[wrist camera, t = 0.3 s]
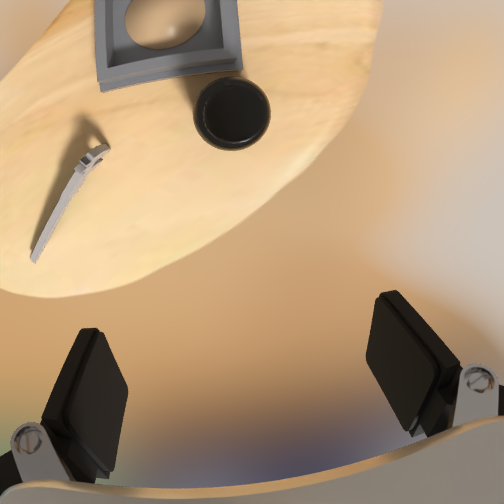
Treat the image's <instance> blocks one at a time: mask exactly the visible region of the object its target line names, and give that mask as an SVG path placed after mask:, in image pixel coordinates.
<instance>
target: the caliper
mask: <svg viewBox="0 0 504 504" xmlns="http://www.w3.org/2000/svg"><path fill="white" fill-rule="evenodd" d="M109 151H110V148H109V147H108V146H107V145H106V144H102V145H99V146H96V147H95V148H93V149H92V150H90V151H89V152H88V153H87V154H86V156H85V157H83V158H82V159H80V160H79V161H80V163H79V164H78V165H77V166H76V167H75V168H74V170H75V172H74V174H73V176H72V177H71V179H70V181H69V182H68V184H67V186H66V188H65V189H64V191H63V193H62V195H61V196H60V200H59V202H58V203H57V205H56V207H55V209H54V211H53V213H52V214H51V216H50V218H49V220H48V222H47V224H46V226H45V228H44V230H43V232H42V234H41V236H40V238H39V240H38V242H37V244H36V246H35V248H34V251H33V253H32V255H31V259H30V260H31V261H32V262H33V263H34V264H36V262H37V260H38V258H39V257H40V255H41V253H42V251H43V250H44V248H45V246H46V244H47V242H48V240H49V238H50V236H51V234H52V232H53V230H54V229H55V227H56V225H57V223H58V221H59V220H60V218H61V216H62V214H63V213H64V211H65V209H66V207H67V206H68V204H69V202H70V201H71V199H72V197H73V196H74V195H75V194H76V193H77V192H78V190H79V188H80V187H81V185H82V184H83V182H84V180H85V178H86V176H87V175H88V174H89V173H90V172H91V171H92V170H93V169H94V168H95V167H97V166H98V165H99V164H100V163H101V161H102V159H101V157H102V156H103V155H105V154H106V153H108V152H109Z"/></svg>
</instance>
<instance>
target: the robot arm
mask: <svg viewBox="0 0 504 504" xmlns="http://www.w3.org/2000/svg"><path fill="white" fill-rule="evenodd" d="M366 361H367V364H368V366H369V367H370V369H371V371H372V373H373V375H374V376H375V378H376V380H377V382H378V383H379V385H380V387H381V389H382V391H383V392H384V394H385V396H386V398H387V400H388V401H389V403H390V405H391V407H392V409H393V411H394V412H395V414H396V416H397V418H398V420H399V422H400V424H401V426H402V427H403V429H404V430H405V431H409V433H410V434H411V437H414V436H417V435H420V434H422V433H424V432H425V434H426V436H427V437H428V438H426V439H424V440H421V441H419V442H416V443H413V444H410V445H408V446H405V447H402V448H399V449H397V450H394V451H391V452H388V453H386V454H382V455H380V456H376V457H373V458H370V459H367V460H364V461H361V462H357V463H354V464H350V465H347V466H343V467H339V468H335V469H331V470H327V471H323V472H318V473H314V474H310V475H305V476H300V477H294V478H289V479H283V480H277V481H270V482H264V483H256V484H248V485H239V486H227V487H212V488H189V489H162V488H161V489H160V488H138V487H123V486H110V485H101V484H94V483H95V480H96V478H104V479H109V475H110V472H112V471H113V470H114V468H115V461H116V455H117V449H118V444H119V438H120V433H121V427H122V422H123V416H124V412H125V406H126V402H127V397H128V387H127V384H126V382H125V380H124V378H123V376H122V374H121V372H120V369H119V367H118V365H117V363H116V360H115V358H114V356H113V354H112V352H111V349H110V347H109V344H108V342H107V340H106V337H105V335H104V333H103V332H100V331H99V330H98V329H97V328H84V329H81V330H80V331H79V334H78V335H77V338H76V339H75V342H74V344H73V346H72V348H71V350H70V352H69V354H68V356H67V358H66V361H65V363H64V365H63V367H62V370H61V372H60V374H59V376H58V378H57V381H56V383H55V385H54V388H53V390H52V392H51V395H50V397H49V400H48V402H47V405H46V407H45V410H44V412H43V415H42V417H41V418H42V420H41V423H40V424H39V423H35V422H28V423H25V424H22V425H21V426H19V427H18V428H17V429H16V430H15V431H14V433H13V435H12V437H11V441H10V445H11V450H10V451H9V452H7V453H5V454H4V455H2V456H0V504H504V386H502V385H499V383H498V378H497V376H496V374H495V373H494V372H493V370H492V369H490V368H489V367H487V366H485V365H482V364H470V365H467V366H466V367H464V368H462V367H461V366H460V361H459V360H458V359H457V358H456V357H455V355H454V354H453V353H452V352H451V351H450V349H449V348H448V347H447V346H446V345H445V343H444V342H443V341H442V340H441V339H440V338H439V337H438V335H437V334H436V333H435V332H434V331H433V330H432V329H431V327H430V326H429V325H428V324H427V323H426V322H425V320H424V319H423V318H422V317H421V316H420V315H419V314H418V313H417V311H415V309H414V308H413V307H412V306H411V305H410V304H409V303H408V302H407V301H406V299H405V298H404V297H403V296H402V295H401V294H400V293H399V292H398V291H397V290H393V291H388V292H382V293H381V294H380V295H379V297H378V298H376V300H375V305H374V312H373V318H372V325H371V330H370V335H369V341H368V346H367V351H366Z"/></svg>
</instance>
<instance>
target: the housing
mask: <svg viewBox="0 0 504 504" xmlns="http://www.w3.org/2000/svg"><path fill="white" fill-rule="evenodd" d="M95 50H96V69H97V82H100V90H101V92H103V93H104V92H108V91H112V90H116V89H120V88H125V87H129V86H134V85H138V84H143V83H148V82H154V81H159V80H165V79H171V78H177V77H184V76H191V75H198V74H207V73H216V72H227V71H239V70H243V64H242V52H241V41H240V30H239V18H238V7H237V0H95Z"/></svg>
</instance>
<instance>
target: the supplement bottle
mask: <svg viewBox="0 0 504 504" xmlns="http://www.w3.org/2000/svg"><path fill="white" fill-rule="evenodd" d="M270 118H271V109H270V104H269V101H268V98H267V96H266V95H265V93H264V92H263V90H262V89H261V88H260V87H259V86H258V85H256V84H255V83H253V82H252V81H250V80H247V79H245V78H241V77H224V78H220V79H218V80H215V81H213V82H211V83H210V84H208V85H207V86H206V87H205V88H204V89H203V90H202V91H201V92H200V94H199V95H198V97H197V99H196V101H195V104H194V109H193V120H194V125H195V127H196V130H197V132H198V133H199V135H200V136H201V137H202V138H203V140H204V141H206V142H207V143H208V144H210V145H211V146H213V147H215V148H218V149H221V150H226V151H237V150H242V149H245V148H248V147H250V146H252V145H253V144H255V143H256V142H257V141H259V140H260V139H261V137H262V136H263V135H264V134H265V132H266V130H267V128H268V126H269V123H270Z"/></svg>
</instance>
